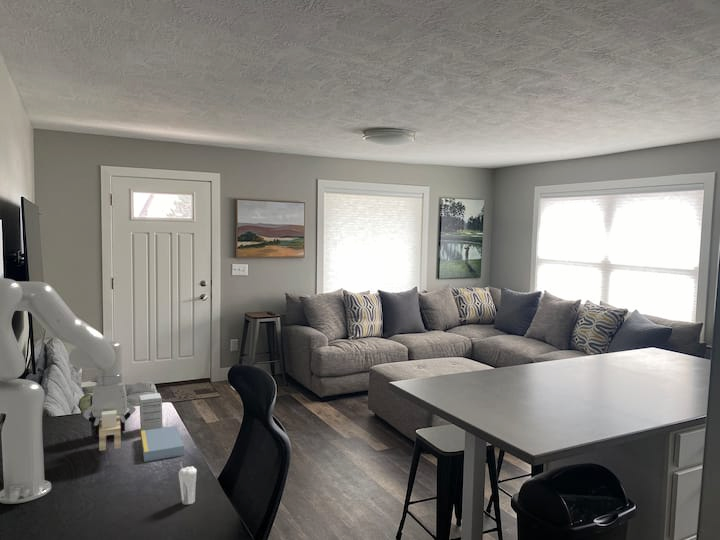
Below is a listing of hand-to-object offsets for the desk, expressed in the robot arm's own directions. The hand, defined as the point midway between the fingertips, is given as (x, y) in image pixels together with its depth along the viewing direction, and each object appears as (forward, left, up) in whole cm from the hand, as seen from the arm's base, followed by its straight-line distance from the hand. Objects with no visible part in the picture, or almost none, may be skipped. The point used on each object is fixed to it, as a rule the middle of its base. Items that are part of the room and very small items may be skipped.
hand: (110, 434), depth 177 cm
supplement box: (+19, -14, -7) cm, 25 cm away
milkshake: (-46, -19, -7) cm, 50 cm away
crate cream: (-6, 0, +5) cm, 8 cm away
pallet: (0, 0, -1) cm, 1 cm away
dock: (0, -16, -7) cm, 17 cm away
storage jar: (+19, +1, -7) cm, 21 cm away
